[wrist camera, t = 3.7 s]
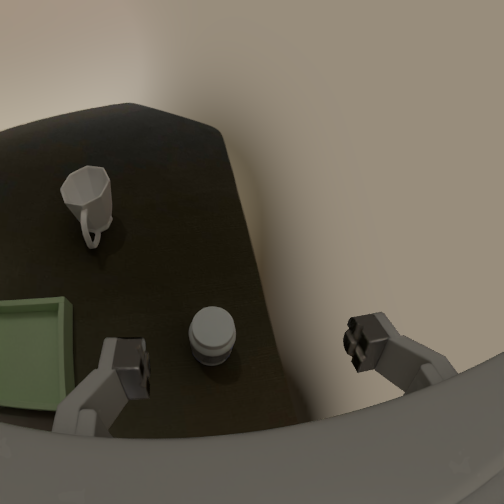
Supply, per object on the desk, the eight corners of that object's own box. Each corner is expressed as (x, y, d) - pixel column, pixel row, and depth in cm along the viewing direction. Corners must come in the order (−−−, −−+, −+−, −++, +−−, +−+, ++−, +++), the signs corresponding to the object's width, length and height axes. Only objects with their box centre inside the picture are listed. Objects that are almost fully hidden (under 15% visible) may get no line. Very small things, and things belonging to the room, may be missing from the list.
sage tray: (77, 412, 28) (67, 410, 26) (-7, 405, 25) (-20, 402, 23) (73, 305, 35) (64, 296, 32) (-6, 309, 32) (-16, 301, 29)
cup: (121, 199, 44) (111, 160, 37) (122, 256, 39) (108, 221, 32) (78, 206, 42) (63, 169, 35) (75, 263, 37) (53, 230, 30)
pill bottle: (236, 360, 35) (245, 344, 28) (196, 370, 33) (194, 356, 26) (225, 323, 37) (231, 297, 30) (186, 331, 36) (182, 307, 28)
